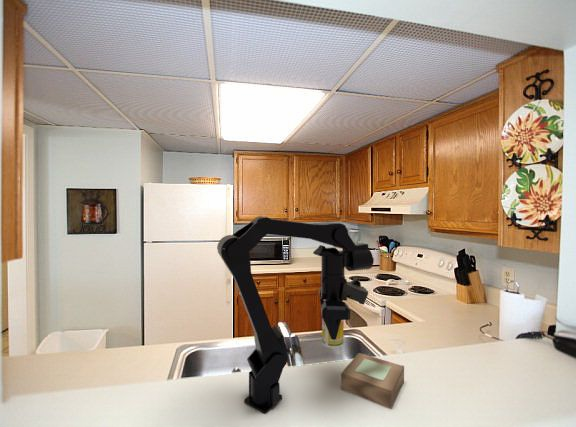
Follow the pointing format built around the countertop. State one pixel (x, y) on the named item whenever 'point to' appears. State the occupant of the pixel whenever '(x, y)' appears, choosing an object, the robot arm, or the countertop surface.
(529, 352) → the countertop surface
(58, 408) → the countertop surface
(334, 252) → the robot arm
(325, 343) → the supplement bottle
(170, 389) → the countertop surface
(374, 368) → the walnut riser
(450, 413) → the countertop surface
